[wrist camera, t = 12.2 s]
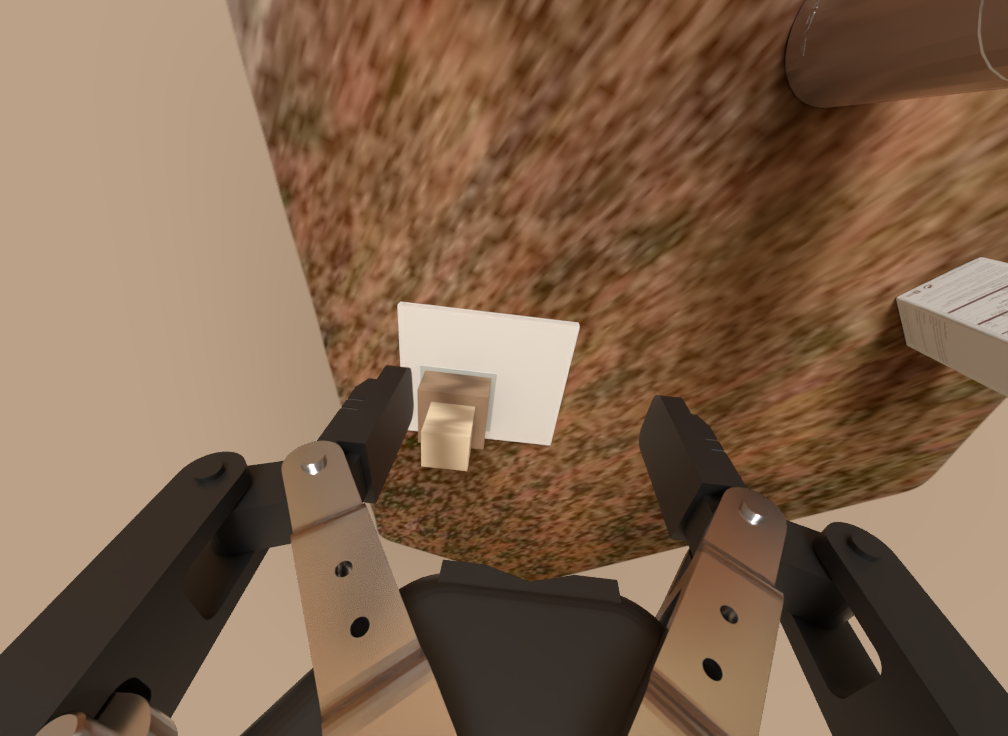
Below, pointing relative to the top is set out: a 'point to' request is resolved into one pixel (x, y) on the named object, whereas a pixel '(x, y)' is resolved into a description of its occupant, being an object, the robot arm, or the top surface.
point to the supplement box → (962, 321)
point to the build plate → (493, 363)
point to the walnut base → (455, 398)
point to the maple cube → (447, 436)
